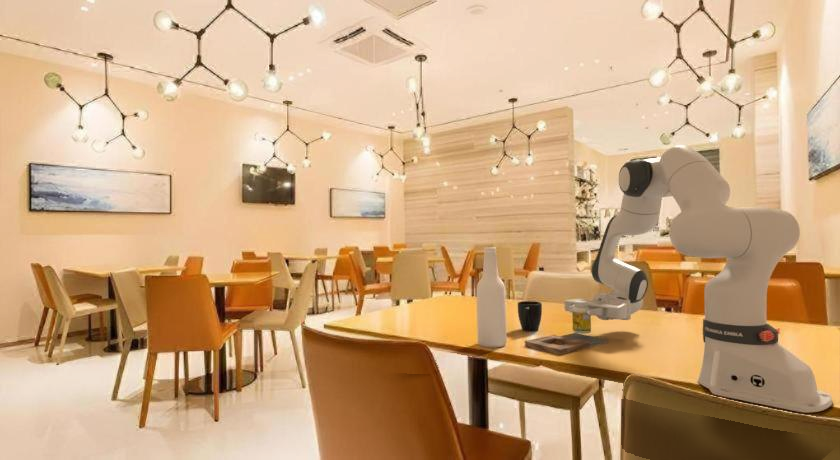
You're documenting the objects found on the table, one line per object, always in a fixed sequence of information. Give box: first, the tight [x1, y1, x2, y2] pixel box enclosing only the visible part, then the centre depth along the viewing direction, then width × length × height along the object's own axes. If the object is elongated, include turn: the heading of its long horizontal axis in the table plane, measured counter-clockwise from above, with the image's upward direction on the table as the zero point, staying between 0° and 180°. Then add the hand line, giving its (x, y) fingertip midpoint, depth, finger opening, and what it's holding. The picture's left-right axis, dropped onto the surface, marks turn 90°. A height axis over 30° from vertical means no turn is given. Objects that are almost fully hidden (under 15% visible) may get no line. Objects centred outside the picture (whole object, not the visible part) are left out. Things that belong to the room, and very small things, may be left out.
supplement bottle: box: [571, 301, 592, 335], centre depth 142 cm, size 5×5×10 cm
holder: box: [524, 334, 590, 356], centre depth 135 cm, size 13×13×2 cm
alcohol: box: [476, 246, 508, 349], centre depth 140 cm, size 9×9×30 cm
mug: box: [517, 300, 543, 333], centre depth 157 cm, size 8×12×10 cm
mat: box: [560, 332, 609, 348], centre depth 142 cm, size 12×9×1 cm
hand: (579, 311), depth 142 cm, fingers closed on supplement bottle, 5 cm apart
